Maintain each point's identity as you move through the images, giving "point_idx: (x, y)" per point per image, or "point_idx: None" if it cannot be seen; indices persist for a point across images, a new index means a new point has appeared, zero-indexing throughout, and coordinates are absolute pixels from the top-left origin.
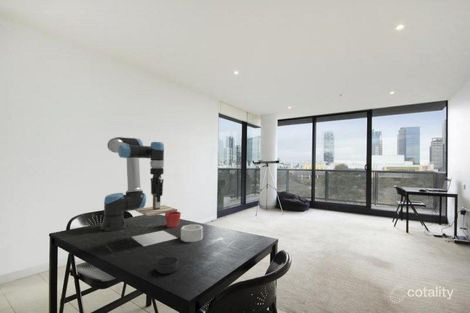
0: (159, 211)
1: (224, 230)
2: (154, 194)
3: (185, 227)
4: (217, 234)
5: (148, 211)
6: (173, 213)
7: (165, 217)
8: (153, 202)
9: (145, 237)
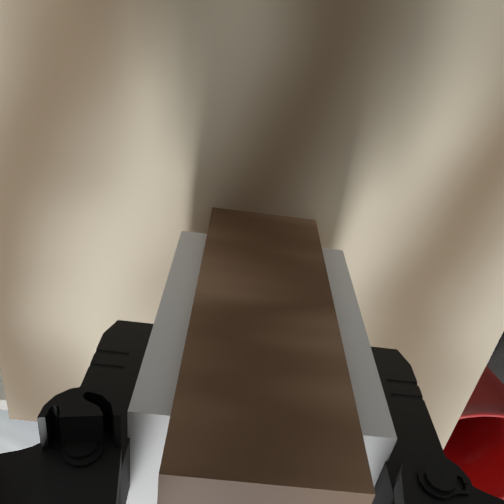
0: (9, 186)
1: None
2: (221, 475)
3: None
4: (32, 428)
5: (153, 39)
6: (500, 477)
7: (497, 389)
8: (290, 292)
9: None
